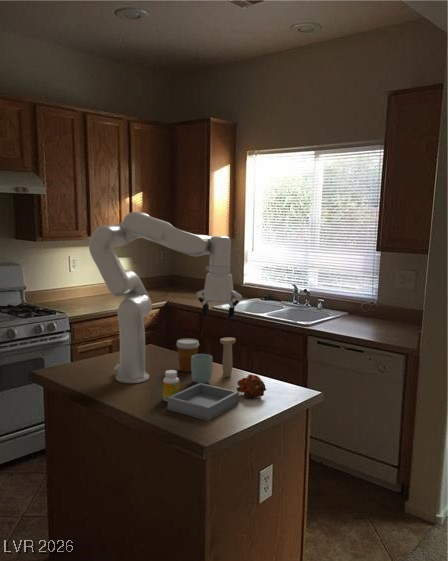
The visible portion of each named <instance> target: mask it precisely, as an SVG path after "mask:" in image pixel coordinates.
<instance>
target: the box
mask: <svg viewBox="0 0 448 561" xmlns="http://www.w3.org/2000/svg"><path fill="white" fill-rule="evenodd" d="M239 397H240V392H238V391H237V390H232V389H228V388H224V387H220V386H215V385H212V384H211V385H210V384H207V383H204V384H202V383H195V385H192V386H189V387H188V388H186V389H183V390H181V391H179V393H176V394H174V395H172V396H170V397H168V401H167V410H168V411H171V412H177V413H179V414H184V415H187V416H190V417H194V418H198V419H201V420H205V421H211V420H213V419H215V417H218V416H219V415H221V414H222V413H224V412H227V411H228V410H230V409H232V408H233V407H235V406H236V405H238V404H239V403H240V402H239V400H240V398H239Z"/></svg>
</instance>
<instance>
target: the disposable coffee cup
mask: <svg viewBox="0 0 448 561" xmlns="http://www.w3.org/2000/svg"><path fill="white" fill-rule="evenodd" d="M199 346H200V343H199V340H197V339H195V338H180V339H177V341H176V347H177V355H178V364H179V371H180V372H186V373H187V372H188V373H189V372H191V357H192V356H193V355H196V354H199V353H198V352H199Z"/></svg>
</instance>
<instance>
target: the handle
mask: <svg viewBox="0 0 448 561" xmlns="http://www.w3.org/2000/svg"><path fill="white" fill-rule="evenodd" d="M236 340H237V339H236V338H235V337H222V338H220V339H219V342H220V344H222V345H223V350H222V352H223V353H222V365H221V366H222V372H223V373H222V375H223V377H225V378H230V377H232V371H233V344H235V343H236Z"/></svg>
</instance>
